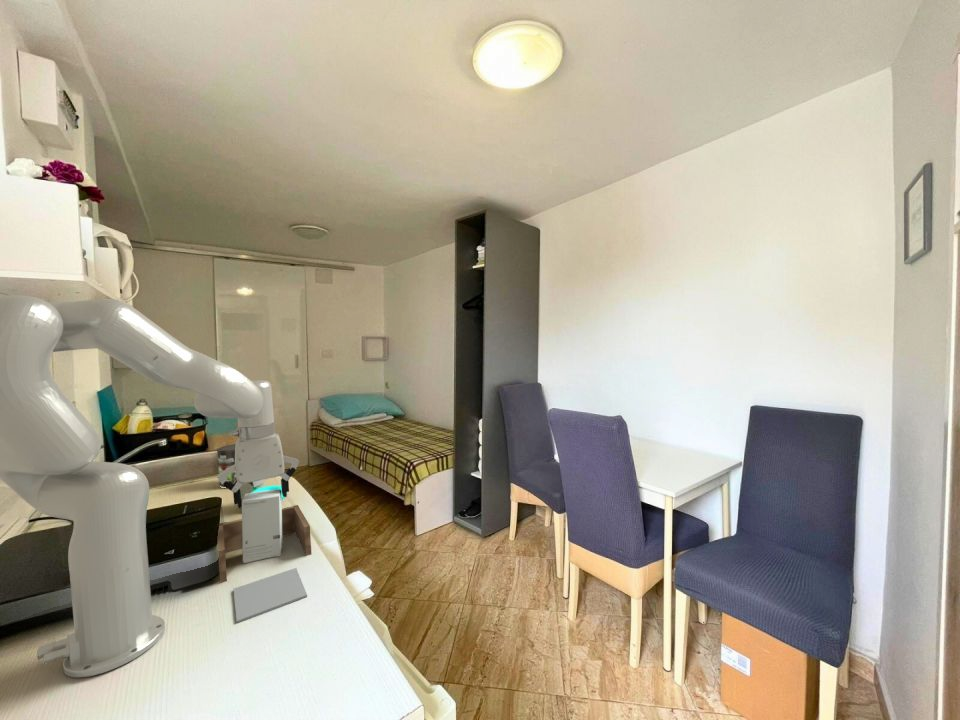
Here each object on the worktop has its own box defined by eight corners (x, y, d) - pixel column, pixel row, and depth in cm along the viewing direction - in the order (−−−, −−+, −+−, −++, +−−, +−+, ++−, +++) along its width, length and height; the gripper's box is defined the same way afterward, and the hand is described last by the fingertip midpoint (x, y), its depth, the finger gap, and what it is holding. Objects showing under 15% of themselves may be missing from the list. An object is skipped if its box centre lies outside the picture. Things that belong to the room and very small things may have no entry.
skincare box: (242, 564, 91) (238, 501, 90) (247, 552, 96) (243, 493, 96) (282, 555, 94) (279, 495, 93) (284, 544, 99) (281, 486, 99)
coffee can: (237, 489, 141) (234, 450, 141) (212, 488, 143) (209, 450, 142) (257, 479, 151) (255, 443, 151) (234, 478, 153) (232, 443, 152)
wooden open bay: (220, 583, 84) (218, 551, 83) (218, 552, 97) (217, 524, 96) (311, 553, 94) (309, 525, 94) (299, 529, 107) (297, 504, 107)
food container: (275, 505, 125) (273, 474, 124) (255, 512, 120) (253, 480, 119) (254, 498, 132) (252, 469, 131) (235, 505, 126) (233, 474, 126)
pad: (236, 623, 71) (236, 621, 71) (233, 590, 81) (233, 588, 81) (307, 596, 78) (307, 594, 78) (296, 569, 88) (296, 567, 88)
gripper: (214, 441, 86) (220, 516, 87) (298, 428, 96) (303, 496, 97) (213, 435, 92) (219, 505, 93) (293, 423, 102) (298, 487, 103)
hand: (262, 500), depth 95 cm, fingers open, 9 cm apart
